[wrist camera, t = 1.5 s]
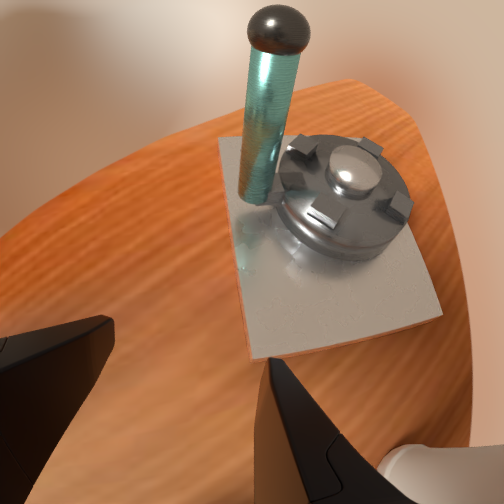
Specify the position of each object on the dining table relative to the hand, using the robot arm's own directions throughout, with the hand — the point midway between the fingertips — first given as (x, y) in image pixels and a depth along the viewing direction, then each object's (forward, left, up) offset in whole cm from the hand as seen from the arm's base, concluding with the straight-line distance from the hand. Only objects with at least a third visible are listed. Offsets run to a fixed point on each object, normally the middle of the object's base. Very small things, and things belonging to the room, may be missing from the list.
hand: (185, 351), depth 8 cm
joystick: (+13, -11, -11) cm, 21 cm away
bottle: (-11, -14, -14) cm, 22 cm away
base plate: (+12, -12, -14) cm, 22 cm away
